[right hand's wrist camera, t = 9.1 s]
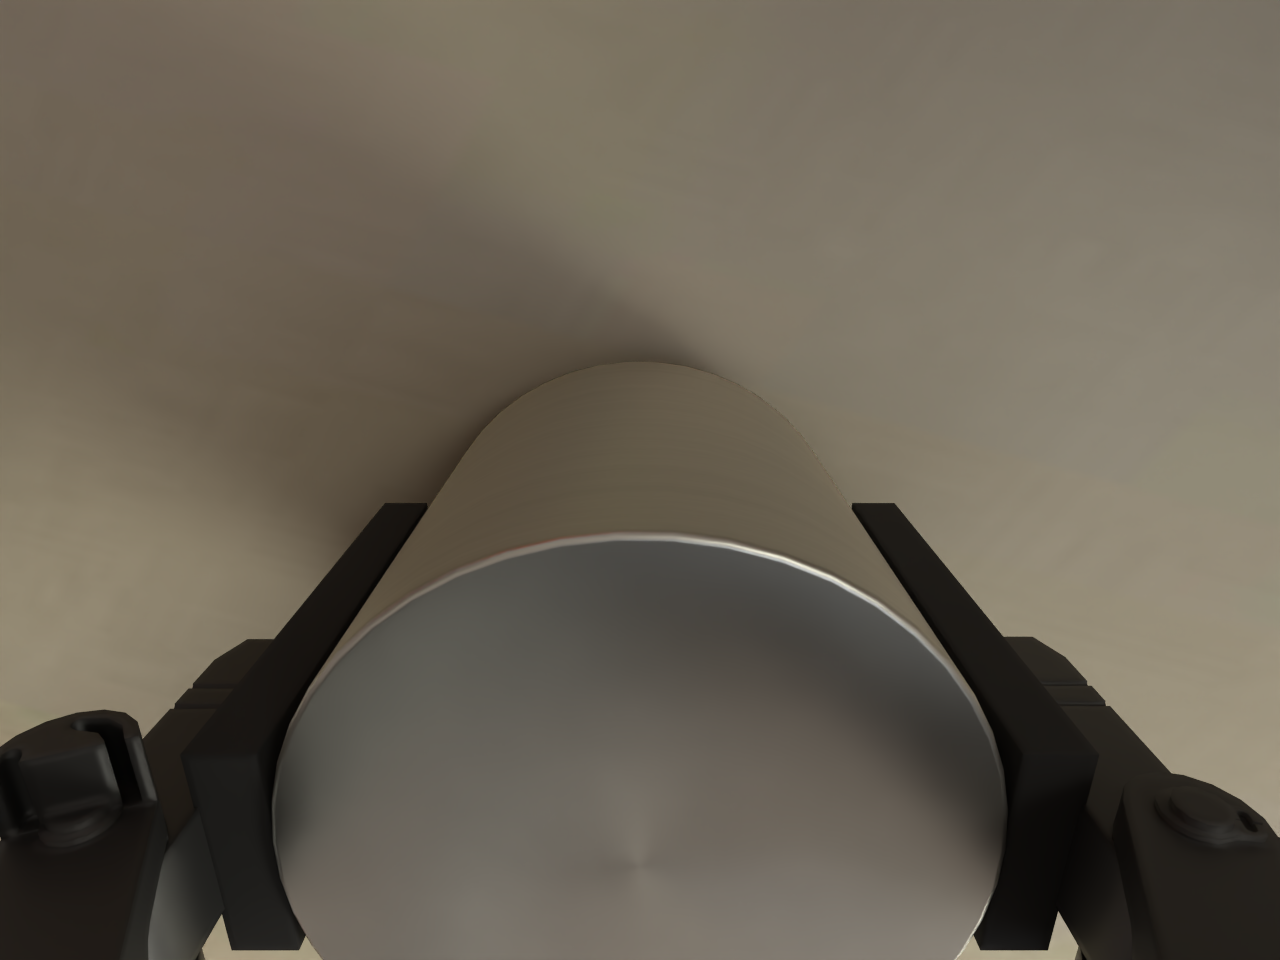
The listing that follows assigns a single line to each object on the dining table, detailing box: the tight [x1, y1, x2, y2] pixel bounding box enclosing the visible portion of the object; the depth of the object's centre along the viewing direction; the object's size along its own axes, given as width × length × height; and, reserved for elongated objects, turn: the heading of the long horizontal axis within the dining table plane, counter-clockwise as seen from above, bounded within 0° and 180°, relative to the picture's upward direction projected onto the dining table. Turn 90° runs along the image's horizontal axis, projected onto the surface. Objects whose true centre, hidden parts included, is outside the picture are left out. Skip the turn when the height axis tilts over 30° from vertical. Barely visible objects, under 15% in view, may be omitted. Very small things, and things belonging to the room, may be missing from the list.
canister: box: [272, 362, 1008, 960], centre depth 11 cm, size 8×8×7 cm
